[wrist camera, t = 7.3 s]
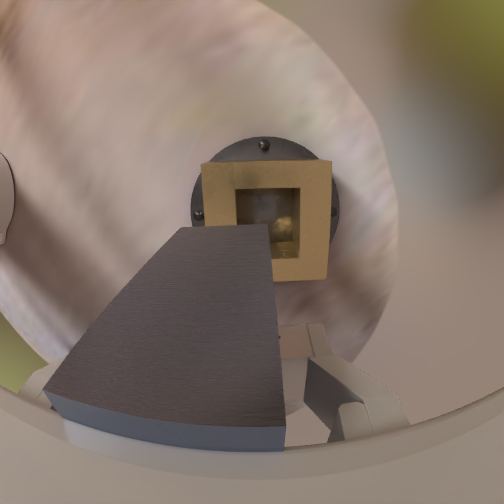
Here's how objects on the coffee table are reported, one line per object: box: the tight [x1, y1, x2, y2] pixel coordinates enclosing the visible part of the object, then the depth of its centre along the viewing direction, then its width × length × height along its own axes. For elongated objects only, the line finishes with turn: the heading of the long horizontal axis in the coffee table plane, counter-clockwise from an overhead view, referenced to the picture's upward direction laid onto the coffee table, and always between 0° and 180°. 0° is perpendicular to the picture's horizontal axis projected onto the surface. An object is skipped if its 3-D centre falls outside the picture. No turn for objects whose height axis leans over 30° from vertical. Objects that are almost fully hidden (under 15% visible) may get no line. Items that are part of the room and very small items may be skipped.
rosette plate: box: [191, 137, 339, 282], centre depth 29 cm, size 17×17×6 cm
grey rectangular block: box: [42, 224, 286, 452], centre depth 9 cm, size 4×5×10 cm
